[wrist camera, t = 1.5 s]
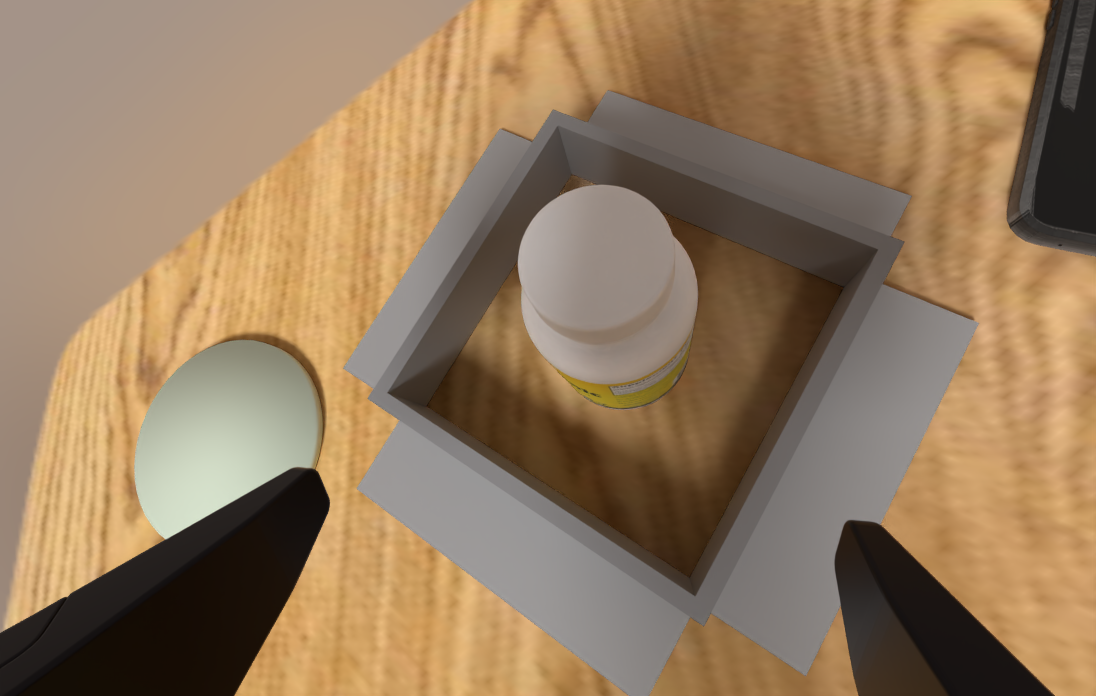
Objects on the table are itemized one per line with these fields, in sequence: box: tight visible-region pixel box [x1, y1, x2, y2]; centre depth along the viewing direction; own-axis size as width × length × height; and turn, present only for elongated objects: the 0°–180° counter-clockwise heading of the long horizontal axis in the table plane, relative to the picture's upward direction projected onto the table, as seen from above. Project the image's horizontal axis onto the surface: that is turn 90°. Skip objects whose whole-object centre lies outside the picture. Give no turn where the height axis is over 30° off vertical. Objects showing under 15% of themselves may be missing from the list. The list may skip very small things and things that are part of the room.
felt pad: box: [134, 340, 323, 539], centre depth 25 cm, size 10×10×1 cm
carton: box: [343, 90, 979, 696], centre depth 20 cm, size 22×22×4 cm
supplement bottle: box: [518, 185, 698, 410], centre depth 17 cm, size 5×5×10 cm
